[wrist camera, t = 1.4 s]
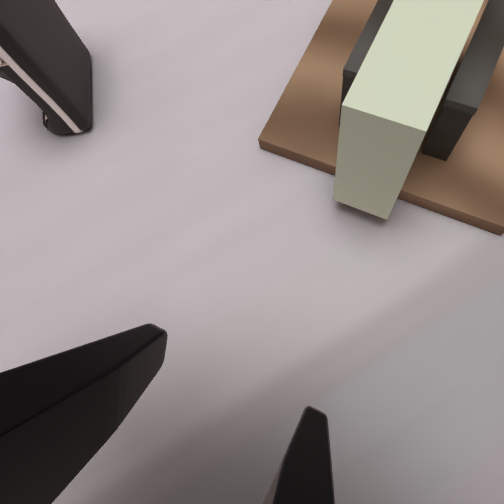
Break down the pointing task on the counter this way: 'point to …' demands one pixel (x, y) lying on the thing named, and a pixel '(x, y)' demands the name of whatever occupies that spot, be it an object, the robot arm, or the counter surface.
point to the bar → (397, 98)
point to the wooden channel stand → (441, 126)
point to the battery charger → (46, 62)
